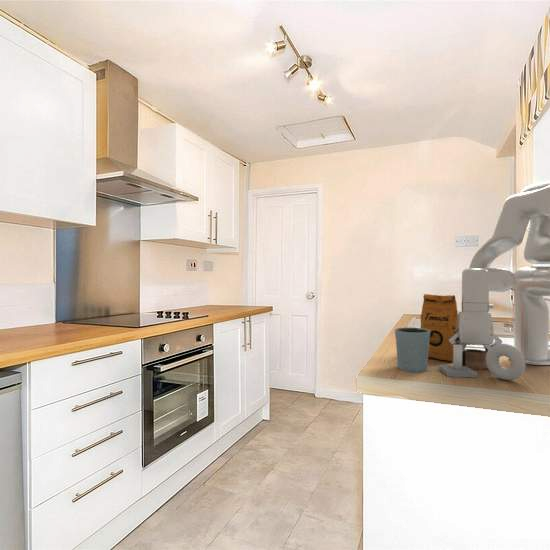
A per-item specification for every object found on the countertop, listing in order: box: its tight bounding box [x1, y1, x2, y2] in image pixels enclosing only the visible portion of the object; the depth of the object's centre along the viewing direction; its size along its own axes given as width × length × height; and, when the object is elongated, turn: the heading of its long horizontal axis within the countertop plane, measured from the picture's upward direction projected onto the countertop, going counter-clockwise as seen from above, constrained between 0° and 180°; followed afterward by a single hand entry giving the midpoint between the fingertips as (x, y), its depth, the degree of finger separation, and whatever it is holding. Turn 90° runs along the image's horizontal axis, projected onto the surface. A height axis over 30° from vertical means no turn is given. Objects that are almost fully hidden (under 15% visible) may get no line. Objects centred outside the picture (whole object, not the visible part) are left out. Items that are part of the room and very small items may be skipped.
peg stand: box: [438, 345, 479, 378], centre depth 112 cm, size 8×8×8 cm
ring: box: [464, 348, 488, 370], centre depth 120 cm, size 7×7×5 cm
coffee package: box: [420, 293, 460, 363], centre depth 132 cm, size 10×12×22 cm
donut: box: [486, 343, 527, 381], centre depth 106 cm, size 10×3×10 cm, turn 37°
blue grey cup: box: [394, 326, 430, 373], centre depth 117 cm, size 10×10×12 cm
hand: (474, 364), depth 120 cm, fingers closed on ring, 6 cm apart
